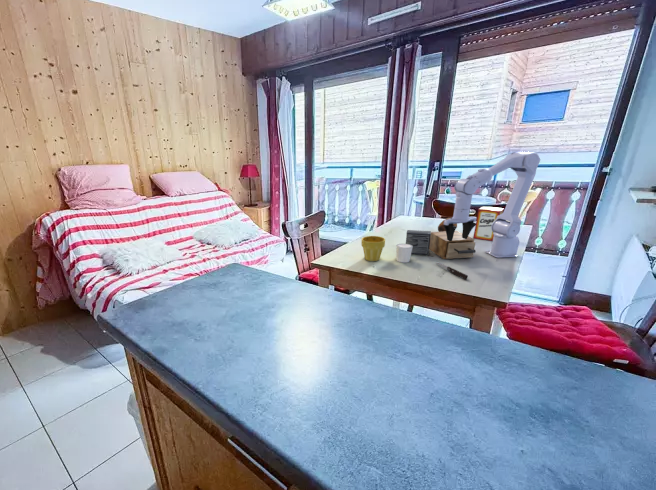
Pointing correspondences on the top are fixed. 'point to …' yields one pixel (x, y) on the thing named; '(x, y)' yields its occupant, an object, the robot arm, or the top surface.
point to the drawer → (460, 249)
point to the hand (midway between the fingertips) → (457, 239)
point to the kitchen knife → (453, 271)
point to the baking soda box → (486, 222)
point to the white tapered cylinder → (403, 252)
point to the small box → (419, 241)
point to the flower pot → (372, 247)
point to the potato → (441, 227)
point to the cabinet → (444, 242)
